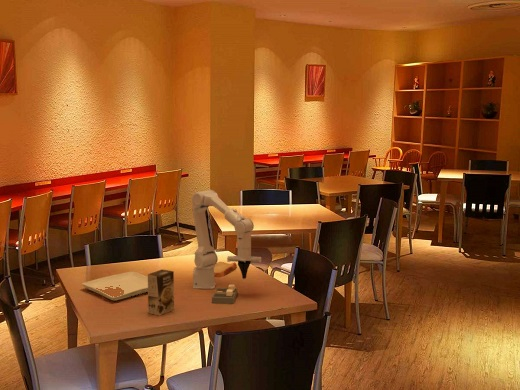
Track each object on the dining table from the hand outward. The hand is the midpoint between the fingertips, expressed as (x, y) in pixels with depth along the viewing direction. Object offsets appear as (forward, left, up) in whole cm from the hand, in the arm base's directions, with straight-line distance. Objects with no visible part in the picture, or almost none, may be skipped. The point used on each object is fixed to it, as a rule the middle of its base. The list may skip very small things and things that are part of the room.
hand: (244, 278), depth 256 cm
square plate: (-55, +4, -9) cm, 56 cm away
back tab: (-6, 0, -6) cm, 8 cm away
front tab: (-5, -7, -6) cm, 10 cm away
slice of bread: (-15, +38, -9) cm, 42 cm away
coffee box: (-31, -21, -8) cm, 39 cm away
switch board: (-8, -3, -8) cm, 12 cm away
